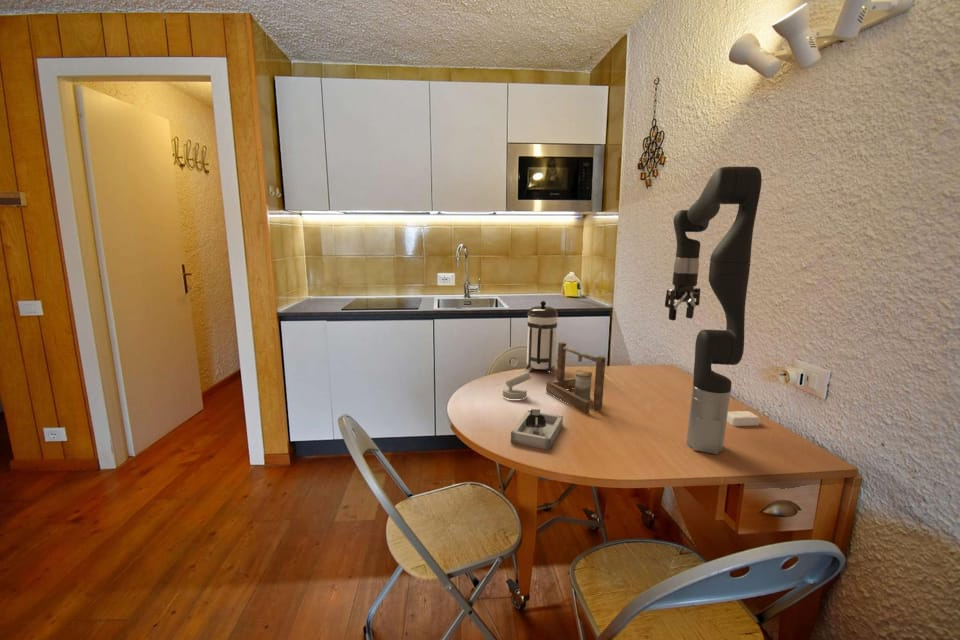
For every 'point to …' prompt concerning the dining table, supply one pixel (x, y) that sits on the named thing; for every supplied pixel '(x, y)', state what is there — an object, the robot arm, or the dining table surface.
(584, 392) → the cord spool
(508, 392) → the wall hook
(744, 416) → the soap
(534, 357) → the coffee press
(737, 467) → the dining table surface
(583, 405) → the wooden frame rack
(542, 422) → the power plug
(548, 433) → the plug tray
